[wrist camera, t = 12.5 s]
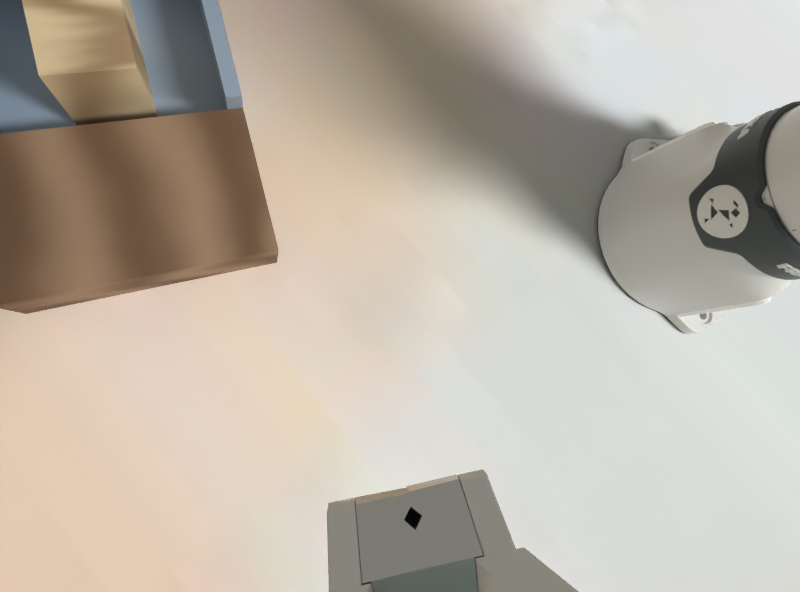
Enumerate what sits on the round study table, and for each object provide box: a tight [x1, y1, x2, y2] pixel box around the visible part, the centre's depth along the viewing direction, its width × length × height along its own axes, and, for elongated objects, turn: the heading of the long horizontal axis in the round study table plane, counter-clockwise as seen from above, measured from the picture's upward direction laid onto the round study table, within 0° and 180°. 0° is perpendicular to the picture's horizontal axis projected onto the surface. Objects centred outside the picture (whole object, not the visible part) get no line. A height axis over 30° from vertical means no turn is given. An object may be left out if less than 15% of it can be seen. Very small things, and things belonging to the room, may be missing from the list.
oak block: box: [22, 0, 158, 126], centre depth 31 cm, size 5×6×9 cm
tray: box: [0, 0, 243, 134], centre depth 32 cm, size 16×12×6 cm
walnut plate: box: [0, 108, 278, 314], centre depth 32 cm, size 16×10×4 cm, turn 105°
